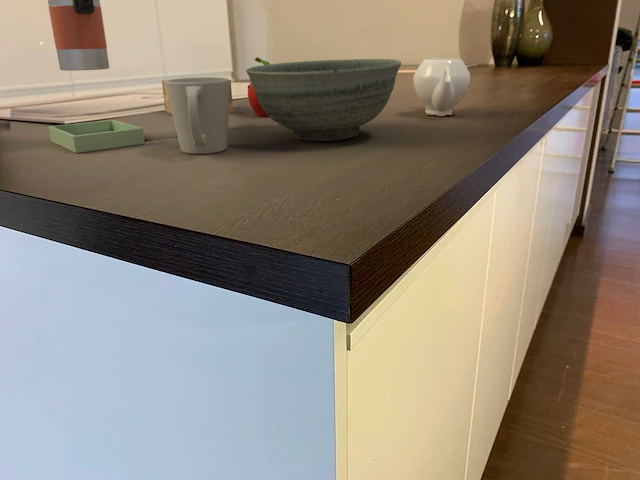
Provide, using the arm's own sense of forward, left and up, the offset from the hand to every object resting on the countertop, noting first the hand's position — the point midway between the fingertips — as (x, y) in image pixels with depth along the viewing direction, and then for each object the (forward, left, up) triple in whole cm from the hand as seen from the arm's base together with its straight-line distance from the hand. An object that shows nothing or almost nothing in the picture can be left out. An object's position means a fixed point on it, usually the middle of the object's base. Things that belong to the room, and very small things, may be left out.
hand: (76, 14), depth 68 cm
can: (0, 0, -7) cm, 7 cm away
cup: (+16, +8, -17) cm, 24 cm away
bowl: (+18, +26, -17) cm, 35 cm away
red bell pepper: (-2, +30, -17) cm, 34 cm away
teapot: (+16, +54, -17) cm, 58 cm away
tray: (0, 0, -16) cm, 16 cm away
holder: (-15, +24, -16) cm, 32 cm away
